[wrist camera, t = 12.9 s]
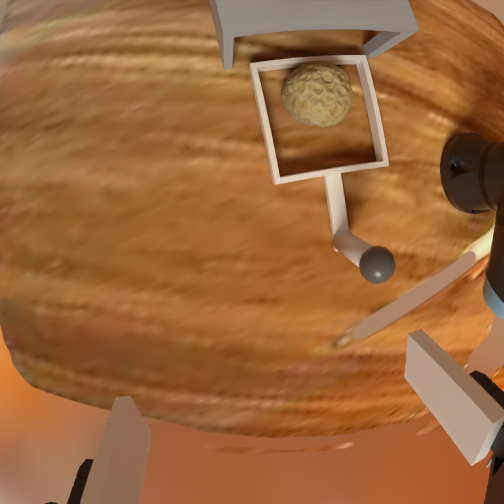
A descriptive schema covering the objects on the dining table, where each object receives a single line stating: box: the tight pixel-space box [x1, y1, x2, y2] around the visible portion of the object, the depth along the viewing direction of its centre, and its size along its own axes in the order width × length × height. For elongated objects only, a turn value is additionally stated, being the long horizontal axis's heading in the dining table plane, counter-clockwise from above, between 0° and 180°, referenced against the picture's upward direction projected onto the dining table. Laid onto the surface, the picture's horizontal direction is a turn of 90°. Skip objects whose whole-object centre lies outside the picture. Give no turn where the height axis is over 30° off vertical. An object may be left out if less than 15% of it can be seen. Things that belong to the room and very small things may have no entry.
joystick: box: [249, 55, 395, 284], centre depth 36 cm, size 30×18×15 cm, turn 11°
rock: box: [281, 61, 353, 127], centre depth 38 cm, size 10×11×10 cm
